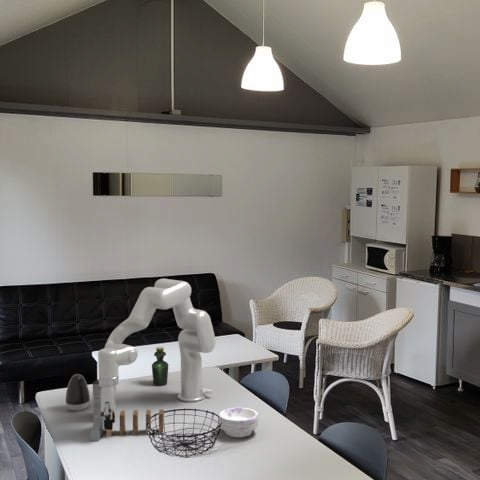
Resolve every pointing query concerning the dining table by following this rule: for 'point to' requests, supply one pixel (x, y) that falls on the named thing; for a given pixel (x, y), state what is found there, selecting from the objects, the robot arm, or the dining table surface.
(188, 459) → the dining table surface
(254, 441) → the dining table surface
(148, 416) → the domino
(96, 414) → the coffee box
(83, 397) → the dark grey egg shape
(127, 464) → the dining table surface
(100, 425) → the end block
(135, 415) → the domino
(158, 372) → the potion bottle
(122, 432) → the domino
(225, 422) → the white floral bowl
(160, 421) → the domino
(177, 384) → the dining table surface
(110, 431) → the domino
